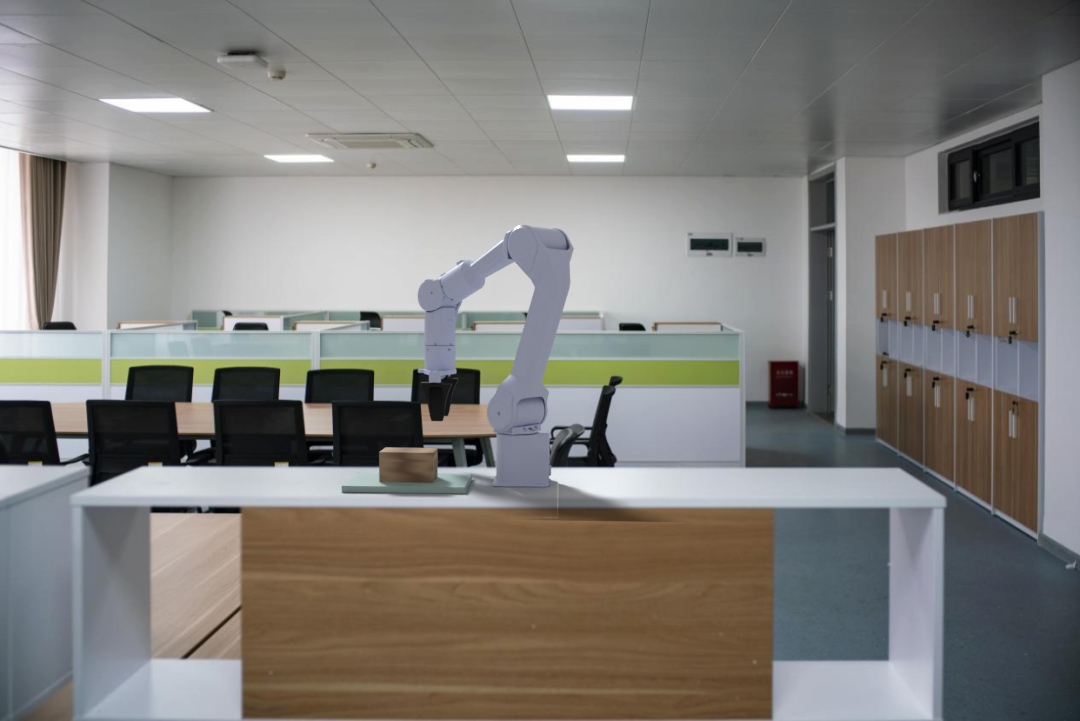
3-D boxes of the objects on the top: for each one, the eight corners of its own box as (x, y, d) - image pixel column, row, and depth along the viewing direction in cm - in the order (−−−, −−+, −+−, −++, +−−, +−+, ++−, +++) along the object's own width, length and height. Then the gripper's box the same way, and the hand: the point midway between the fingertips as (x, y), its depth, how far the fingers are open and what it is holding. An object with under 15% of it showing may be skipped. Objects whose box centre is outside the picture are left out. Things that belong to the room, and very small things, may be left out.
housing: (437, 477, 152) (437, 448, 152) (433, 482, 147) (433, 452, 147) (385, 476, 152) (385, 447, 152) (379, 481, 147) (379, 452, 147)
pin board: (472, 479, 156) (472, 459, 155) (464, 493, 144) (464, 472, 143) (358, 477, 156) (358, 458, 156) (341, 491, 144) (341, 470, 144)
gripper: (424, 343, 172) (424, 413, 172) (411, 346, 157) (412, 423, 158) (460, 343, 171) (460, 413, 172) (451, 347, 157) (451, 423, 158)
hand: (439, 418), depth 165 cm, fingers open, 7 cm apart
